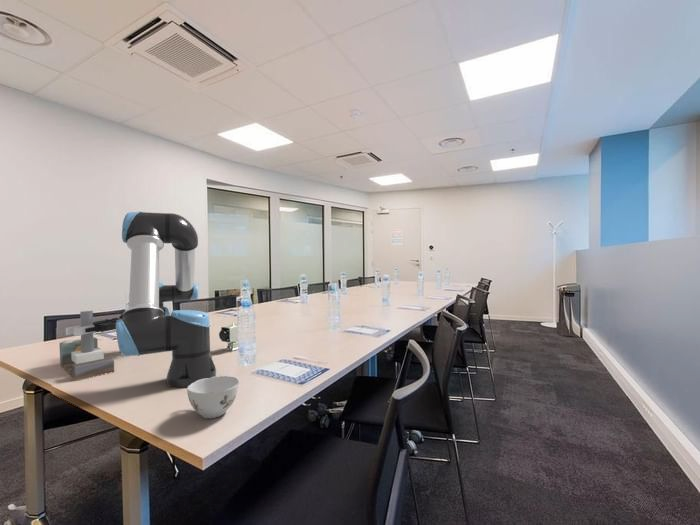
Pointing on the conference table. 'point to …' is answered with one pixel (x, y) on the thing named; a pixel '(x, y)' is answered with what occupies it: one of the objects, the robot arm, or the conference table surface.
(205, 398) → the white floral bowl
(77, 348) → the button
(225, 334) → the pneumatic valve
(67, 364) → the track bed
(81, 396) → the conference table surface
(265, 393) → the conference table surface
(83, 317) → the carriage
